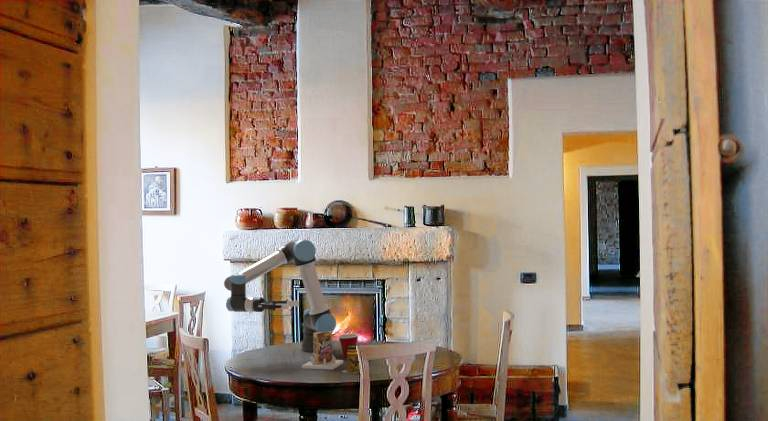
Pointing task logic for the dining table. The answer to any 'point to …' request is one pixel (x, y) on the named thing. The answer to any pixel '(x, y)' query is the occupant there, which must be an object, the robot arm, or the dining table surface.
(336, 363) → the caddy tray
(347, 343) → the plastic cup
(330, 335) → the candy box
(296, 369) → the dining table surface
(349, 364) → the condiment
